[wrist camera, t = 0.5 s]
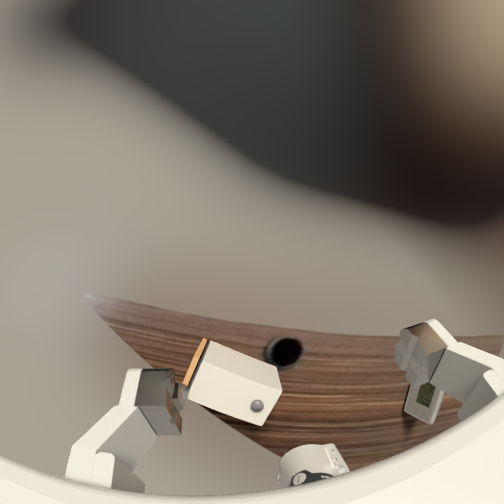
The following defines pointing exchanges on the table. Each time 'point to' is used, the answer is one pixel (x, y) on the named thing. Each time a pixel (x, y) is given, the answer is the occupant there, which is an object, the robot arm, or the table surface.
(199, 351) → the wooden flat board
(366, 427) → the table surface
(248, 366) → the camera case
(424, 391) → the digital clock
